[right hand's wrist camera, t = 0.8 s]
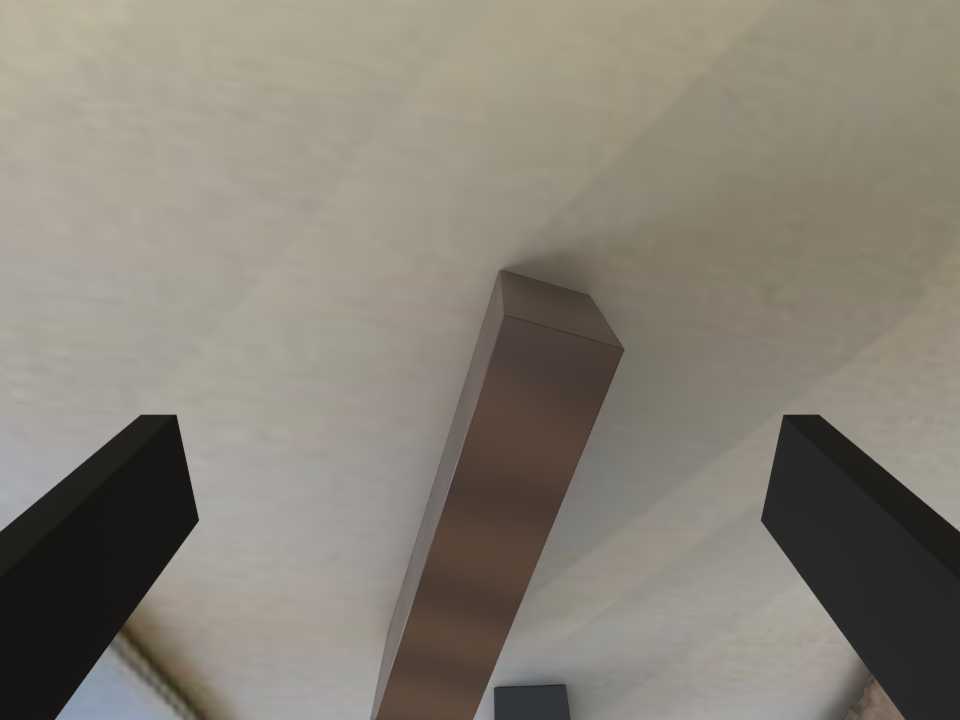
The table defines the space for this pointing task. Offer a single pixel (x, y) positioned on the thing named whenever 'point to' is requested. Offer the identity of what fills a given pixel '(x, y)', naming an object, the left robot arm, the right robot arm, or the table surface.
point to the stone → (874, 705)
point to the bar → (495, 495)
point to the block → (531, 703)
